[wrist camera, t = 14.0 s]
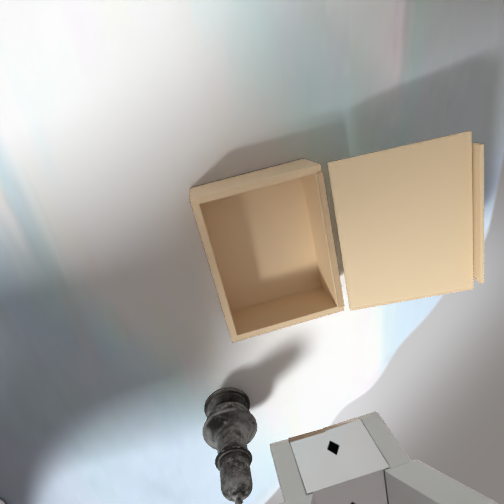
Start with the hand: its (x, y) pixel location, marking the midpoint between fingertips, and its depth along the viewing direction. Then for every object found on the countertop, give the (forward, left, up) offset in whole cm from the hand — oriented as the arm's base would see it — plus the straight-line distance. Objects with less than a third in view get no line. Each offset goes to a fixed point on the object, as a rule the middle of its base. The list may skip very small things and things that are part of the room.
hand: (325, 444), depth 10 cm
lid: (-4, -14, -20) cm, 25 cm away
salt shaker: (-22, +6, -28) cm, 36 cm away
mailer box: (-4, -3, -27) cm, 28 cm away
